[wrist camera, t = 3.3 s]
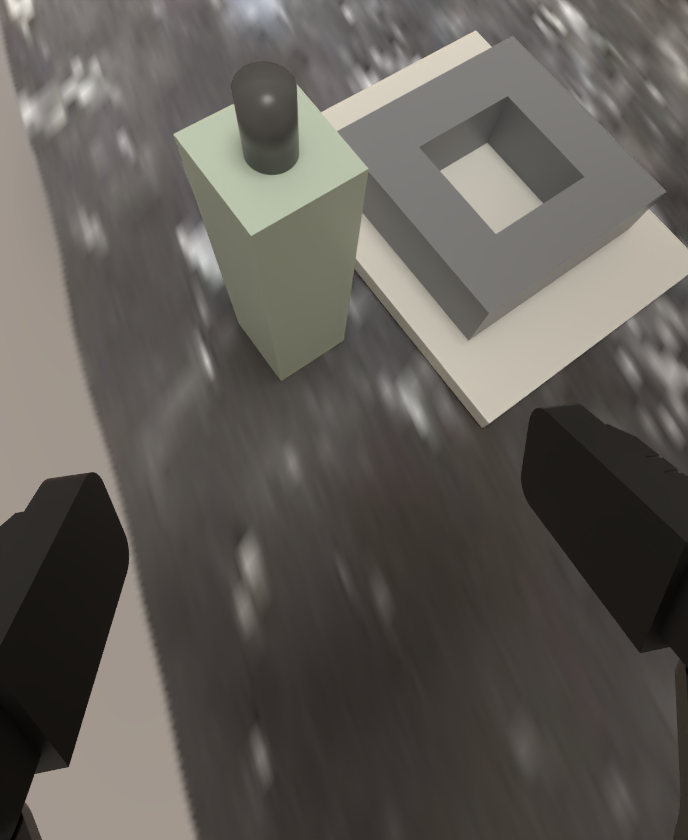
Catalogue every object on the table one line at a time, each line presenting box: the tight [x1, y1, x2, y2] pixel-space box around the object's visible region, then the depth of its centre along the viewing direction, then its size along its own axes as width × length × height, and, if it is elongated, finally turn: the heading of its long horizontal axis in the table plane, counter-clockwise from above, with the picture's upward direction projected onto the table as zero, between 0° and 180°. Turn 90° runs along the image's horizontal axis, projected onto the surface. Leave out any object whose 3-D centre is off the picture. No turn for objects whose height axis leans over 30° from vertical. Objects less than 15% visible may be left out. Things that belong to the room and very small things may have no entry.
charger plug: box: [173, 61, 369, 381], centre depth 18 cm, size 4×4×14 cm
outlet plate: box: [321, 31, 688, 428], centre depth 26 cm, size 20×16×4 cm
